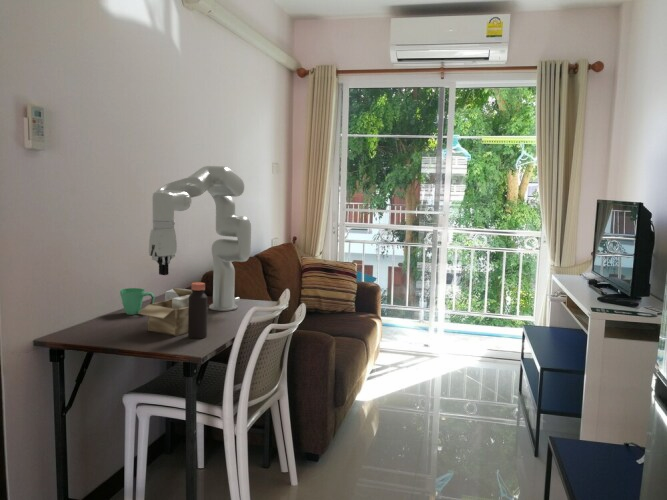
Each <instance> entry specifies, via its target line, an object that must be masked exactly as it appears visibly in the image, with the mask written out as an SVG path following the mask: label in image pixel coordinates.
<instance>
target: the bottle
mask: <svg viewBox="0 0 667 500" xmlns="http://www.w3.org/2000/svg"><path fill="white" fill-rule="evenodd" d="M190 290H192V294H191V295H190V296H189V310H188V333H187V334H188V335H187V336H188V337H189V338H190V339H194V340H195V339H205V338H206V337H208V335H207V334H208V296H207V294H206V293H205V291H206V283H205V282H199V281H198V282H197V281H196V282H192V283H191V288H190Z"/></svg>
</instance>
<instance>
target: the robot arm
mask: <svg viewBox="0 0 667 500" xmlns="http://www.w3.org/2000/svg"><path fill="white" fill-rule="evenodd" d="M205 192H208V193H209V195H210V196H211V198H212V199H213V200H214V204H215V231H216V234H217V235H219V236H223V237H230V238H231V237H232V238H237V239H227V238H220V239H216V240H215V241H214V242H213V243H212V244H211V255H212V263H213V275H212V276H213V279H212V280H213V281H212V282H213V283H212V286H213V287H212V288H213V290H212V303H211V304H210V305H208V306H209V307H208V308H209V309H210V310H213V311H217V312H218V311H219V312H221V311H223V312H227V311H228V312H229V311H234V310H237V309H238V306H239V305H237V304H236V303H237V302H240V297H239V296H237V297H235V289H236V288H235V287H236V286H235V284H236V282H235V281H236V279H235V278H236V270H235V266H234V264H233V263H232V262H240V263H243V262H247V261H248V260H249V259H250V255H251V251H252V250H251V249H252V248H251V247H252V224H251V221H250V219H249V218H248V217H247V216H243V215H236V203H235V200H234V198H233V197H235V198H236V197H240V196H242V195H243V193H244V192H245V183H244V180H243V179H242V177H241V176H239V175H238V174H237V173H235V171H233V170H232V169H230V168H229V167H227V166H220V165H206V166H205V165H204V166H202V167H201V168H199V169H198V170H196V171H195V172H194V173H193V174H190V176H188V177H185V178H181V179H178V180H175V181H171V182H169V183H166V184H164V185H162V186H161V187H160V188H158V189H157V190H156V191H154V192H153V193H152V200H151V201H152V228H151V230H150V234H149V240H148V255H149V256H151V260H152V261H156V263H157V265H158V275H159V276H160V275H161V276H168V275H169V265H170V264H171V260H172V259H174V258H175V257H176V253H177V247H178V246H177V233H176V228H175V224H176V223H175V212H183V211H187V210H188V209H189V208H190V207H191V205H192V198H196V197H199V196H201V195H203V194H204V193H205Z"/></svg>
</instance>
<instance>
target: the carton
mask: <svg viewBox="0 0 667 500" xmlns="http://www.w3.org/2000/svg"><path fill="white" fill-rule="evenodd" d="M190 295H191V294H190ZM190 295H186V296H181V297H177V298H172V299H170V300H166V301H165V300H162V301H159V302H158V301H157V302H154V303H153V304H150V303H149V304H150V305H155V306H161V307H166V308H172V309H174V311H172V312H171V313H170V314H169V315H167V316H166V317H165V318H164V319H163V318H157V317H152V316H147V331H149V332H154V333H158V334H163V335H166V336H167V335H168V336H173V337H179V336H181V335H185V334H188V310H189V296H190Z"/></svg>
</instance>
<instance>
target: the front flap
mask: <svg viewBox="0 0 667 500" xmlns="http://www.w3.org/2000/svg"><path fill="white" fill-rule="evenodd" d="M141 309H142V310H141V311H140V312H138V314H137V315H142V316H147V317H148V316H152V317H157V318H163V319H164V318H165V317H166V316H167V315H169V314H170V313H171V312H172V311H174V309H172V308H166V307H161V306H155V305H150V303H149V304H148V305H146V306H145V307H144V309H143V308H141Z"/></svg>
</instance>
